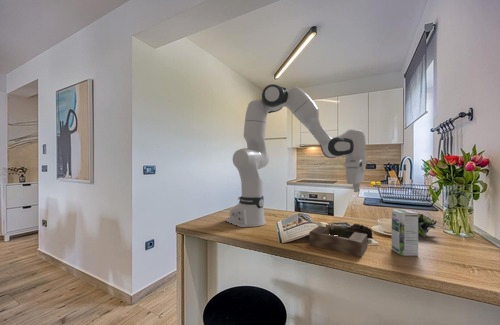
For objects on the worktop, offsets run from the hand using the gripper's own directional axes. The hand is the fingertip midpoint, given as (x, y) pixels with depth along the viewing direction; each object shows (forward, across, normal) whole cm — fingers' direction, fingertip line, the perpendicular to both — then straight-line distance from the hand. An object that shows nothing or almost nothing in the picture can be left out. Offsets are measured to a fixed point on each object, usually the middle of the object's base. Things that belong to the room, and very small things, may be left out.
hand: (356, 191), depth 105 cm
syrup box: (+17, +22, +20) cm, 34 cm away
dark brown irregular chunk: (+17, +16, 0) cm, 24 cm away
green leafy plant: (+18, -2, +24) cm, 29 cm away
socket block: (+17, +30, 0) cm, 34 cm away
